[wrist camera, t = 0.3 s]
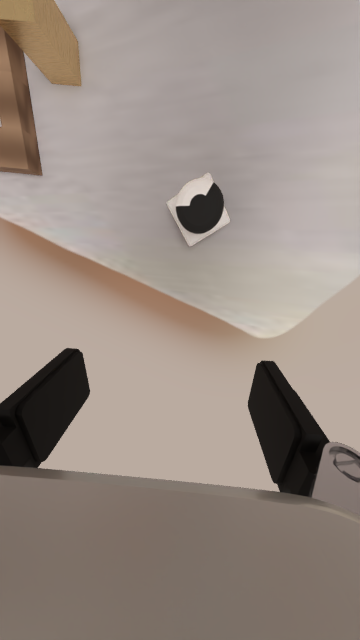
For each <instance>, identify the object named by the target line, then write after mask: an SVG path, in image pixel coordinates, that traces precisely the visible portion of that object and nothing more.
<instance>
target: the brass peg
mask: <svg viewBox="0 0 360 640" xmlns="http://www.w3.org/2000/svg"><path fill="white" fill-rule="evenodd" d="M0 26H1V27H2V28H3V29H4V30H5V31H6V32H7V34H8V35H9V36H10V37H11V38H12V39H13V40H14V41H15V42H16V44H17V45H18V46H19V47H20V48H21V49H22V50H23V51H24V53H25V54H26V55H27V56H28V57H29V58H30V59H31V60H32V62H33V63H34V64H35V65H36V66H37V67H38V68H39V69H40V71H41V72H42V73H43V74H44V75H45V76H46V77H47V78H48V80H49V81H50V82H51V83H52V84H62V85H73V86H81V75H80V63H79V50H78V41H77V39H76V37H75V36H74V34H73V32H72V31H71V29H70V27H69V25H68V24H67V22H66V20H65V18H64V17H63V15H62V13H61V11H60V10H59V8H58V6H57V4H56V3H55V1H54V0H0Z"/></svg>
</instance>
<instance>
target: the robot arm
mask: <svg viewBox="0 0 360 640" xmlns="http://www.w3.org/2000/svg"><path fill="white" fill-rule="evenodd" d="M89 394H90V389H89V383H88V378H87V373H86V369H85V364H84V358H83V354H82V352H80V351H79V349H71V348H66V349H65V350H63V351H62V352H61V353H60V354H59V355H58V356H56V357H55V358H54V359H53V360H51V361H50V362H49V363H48V364H47V365H46V366H44V368H42V369H41V370H40V371H38V372H37V373H36V374H35V375H34V376H33V377H31V378H30V379H29V380H28V381H27V382H25V383H24V384H23V385H22V386H21V387H20V388H18V389H17V390H16V391H15V392H14V393H12V394H11V395H10V396H9V397H8V398H6V399H5V400H4V401H3V402H2V403H1V404H0V640H360V453H359V452H358V451H356V450H354V449H353V448H351V447H349V446H347V445H345V444H342V443H338V442H330V441H329V440H328V438H327V437H326V435H325V434H324V432H323V431H322V430H321V428H320V427H319V425H318V424H317V422H316V421H315V419H314V418H313V416H312V415H311V414H310V412H309V410H308V409H307V408H306V406H305V405H304V403H303V402H302V400H301V399H300V397H299V396H298V394H297V393H296V392H295V391H294V390H293V389H292V387H291V386H290V384H289V383H288V381H287V380H286V378H285V377H284V375H283V374H282V372H281V371H280V370H279V368H278V366H277V365H276V364H275V362H273V361H261V362H260V363H258V364H257V366H256V370H255V374H254V379H253V383H252V387H251V392H250V396H249V400H248V408H249V412H250V415H251V418H252V421H253V424H254V427H255V430H256V433H257V436H258V439H259V442H260V445H261V448H262V451H263V454H264V457H265V460H266V463H267V466H268V469H269V472H270V475H271V478H272V480H273V482H274V483H276V484H277V485H278V488H279V490H280V492H274V491H266V490H257V489H249V488H241V487H231V486H222V485H221V486H220V485H212V484H202V483H192V482H182V481H172V480H161V479H151V478H140V477H129V476H118V475H108V474H97V473H86V472H75V471H63V470H52V469H41V468H38V466H39V465H40V464H41V462H43V461H45V460H46V459H47V458H48V456H49V455H50V453H51V452H52V450H53V449H54V447H55V446H56V444H57V443H58V441H59V440H60V438H61V437H62V435H63V434H64V432H65V431H66V429H67V428H68V426H69V425H70V423H71V422H72V420H73V419H74V417H75V416H76V414H77V413H78V411H79V410H80V409H81V407H82V406H83V404H84V403H85V401H86V400H87V398H88V396H89Z"/></svg>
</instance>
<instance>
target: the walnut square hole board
mask: <svg viewBox="0 0 360 640" xmlns="http://www.w3.org/2000/svg"><path fill="white" fill-rule="evenodd" d="M0 119H1V124H2V127H0V171H3V172H13V173H23V174H33V175H42V170H41V163H40V157H39V150H38V144H37V138H36V131H35V125H34V118H33V112H32V105H31V99H30V93H29V86H28V80H27V73H26V67H25V61H24V54H23V50H22V49H21V48H20V47H19V46H18V45H17V44H16V42H15V41H14V40H13V39H12V38H11V37H10V36H9V35H8V34H7V32H6V31H5V30H4V29H3V28H2V27H1V26H0Z"/></svg>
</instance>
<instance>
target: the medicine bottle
mask: <svg viewBox="0 0 360 640" xmlns="http://www.w3.org/2000/svg"><path fill="white" fill-rule="evenodd" d="M167 206H168V208H169V210H170V212H171V214H172V216H173V217H174V219H175V221H176V223H177V225H178V227H179V229H180V231H181V233H182V234H183V236H184V238H185V240H186V242H187V244H188V246H193V245H194V244H196V243H197V242H199V241H201V240H202V239H204V238H205V237H207V236H209V235H210V234H212V233H214V232H215V231H217V230H218V229H220V228H222V227H223V226H225V225H226V224H228V223H229V222H230V218H229V216H228V213H227V211H226V209H225V206H224V200H223V195H222V193H221V190H220V189H219V187H218V186H217V185H216V184H215V183H214V181H213V179H212V177H211V175H210V173H206V174H205V175H204V176H202V177H201V178H197V179H193V180H191V181H189V182H188V183H187V184H185V185H184V186H183V188H182V189H181V191H180V192H179V193H178V194H177V195H176V196H174V197H173V198H171V199H170V200H169V201H167Z"/></svg>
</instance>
